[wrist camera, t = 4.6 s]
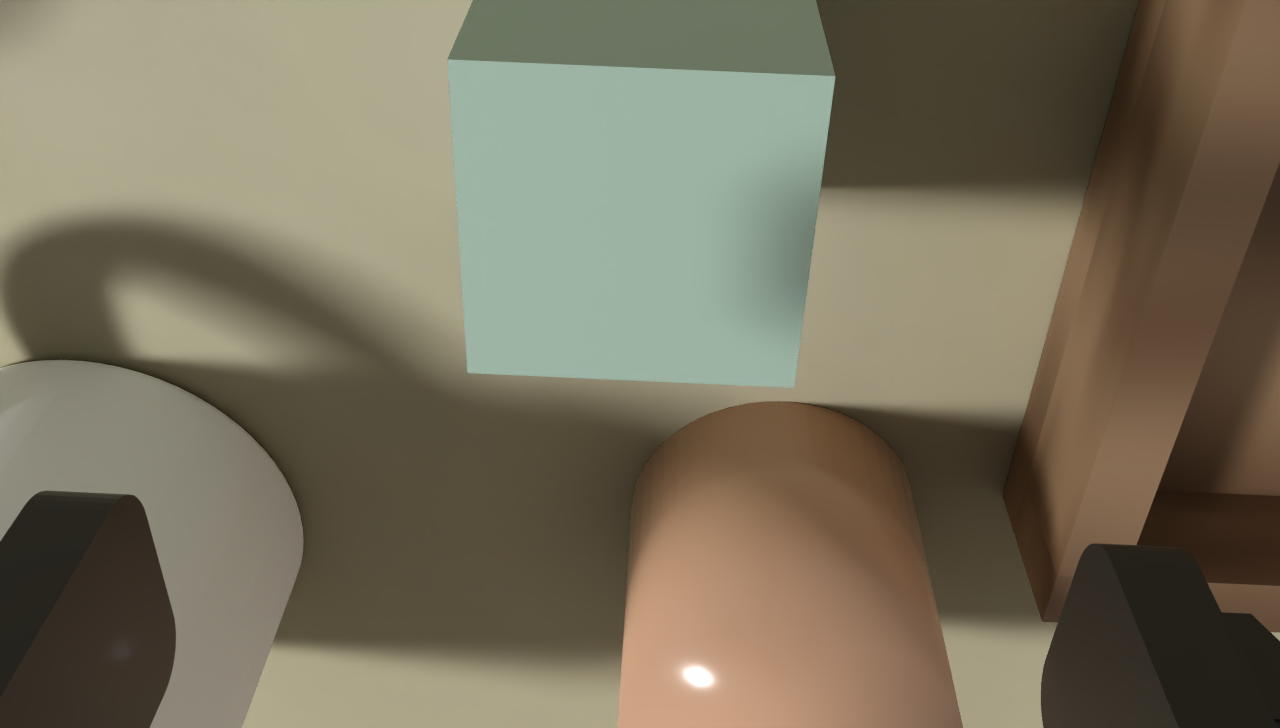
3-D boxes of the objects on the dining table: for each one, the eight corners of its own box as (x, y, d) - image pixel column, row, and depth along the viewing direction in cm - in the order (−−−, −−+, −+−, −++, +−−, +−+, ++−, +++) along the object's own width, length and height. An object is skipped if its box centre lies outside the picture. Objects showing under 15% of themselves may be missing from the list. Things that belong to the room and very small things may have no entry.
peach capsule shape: (637, 393, 24) (621, 618, 19) (936, 409, 24) (997, 640, 19) (627, 600, 28) (612, 836, 23) (888, 616, 28) (929, 854, 23)
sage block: (509, -85, 19) (447, 59, 14) (797, -73, 19) (836, 76, 14) (517, 175, 21) (467, 373, 17) (770, 186, 21) (794, 387, 17)
